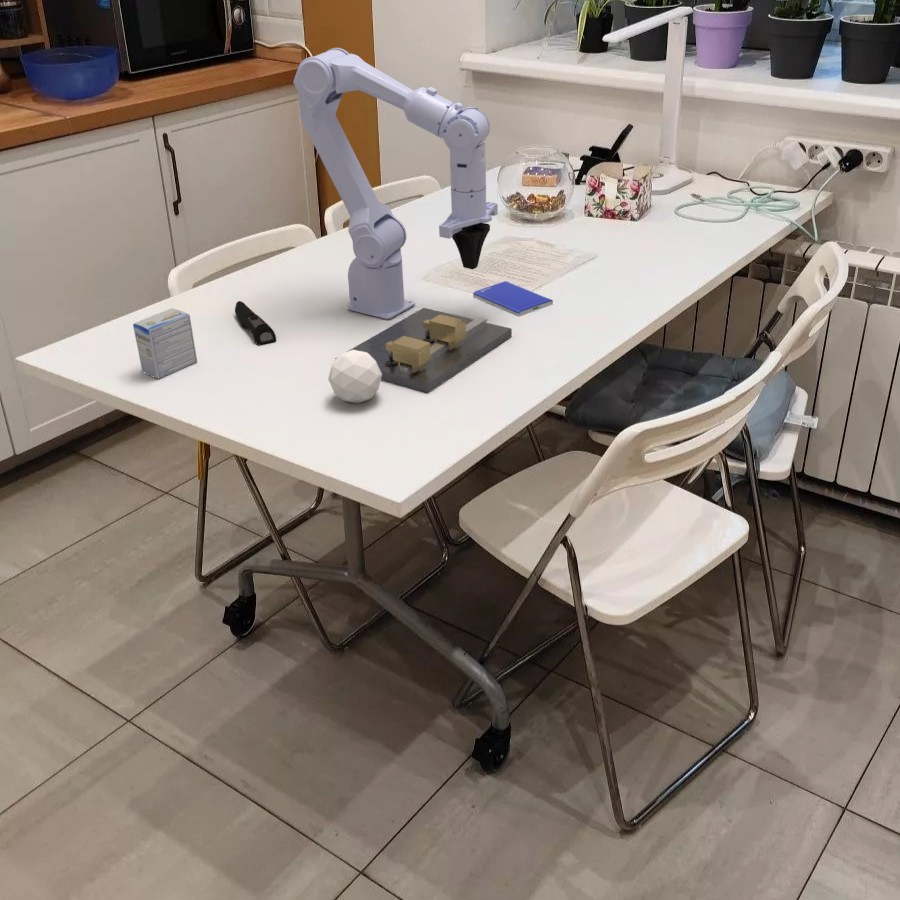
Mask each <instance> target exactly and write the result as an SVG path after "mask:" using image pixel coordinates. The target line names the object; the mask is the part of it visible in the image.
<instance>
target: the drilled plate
mask: <svg viewBox="0 0 900 900" xmlns="http://www.w3.org/2000/svg"><path fill="white" fill-rule="evenodd" d="M440 314H441V315H445V316H449V317H453V318H457V319H462V320H466V338H464V339H463V340H461V343H460V344H459V345H457V346H456V347H454V348H452V349H451V350H450V349H449V342H446V341H442V340H441V341H439V342H438V343H436V344H435V339H434V338H431V339H428V340H427V339H426V336H425V328H423V322H424V321H425V320H431V319H433V318H435V317H436V316H438V315H440ZM512 332H513V330H512V328H510V327H507V326H503V325H498V324H495V323H494V324H493V323H490V322H488V319H487V318H485V317H482V316H478V317H476V318H475V319H473V318H469V317H466V316H465V317H464V316H460V315H457V314H452V313H448V312H445V311H444V312H443V311H439V310H435V309H431V308H427V307H422V308H421V309H419V310H417V311H415V312H414V313H412V314H410V315H408V316H407V317H405V318H403V319H402V320H399V321H398V322H396V323H395V324H393V325H391V326H389V327H388V328H386V329H384V330H382V331H381V332H379V333H377V334H375V335H373V336H371V337H370V338H368V339H366V340H365V341H363V342H361V343H359V344H357V345H355V346H354V347H353V348H350V349H349V350H347V351H346V352H348V351H351V350H357V351H362V352H367V353H368V354H369V355H370V356H371V357H372V358H373V359H374V360H375V361H376V363H377V365H378V367H379V369H380V371H381V373H382V377H381V381H384V382H387V383H392V384H394V385H397V386H401V387H405V388H408V389H411V390H415V391H420V392H422V393H427V394H428V393H430V392H432V391H433V390H435V389H437V388H438V387H439V386H441V385H442V384H444V383H445V382H446V381H448V380H450V379H452V378H453V377H454V376H455V375H457V374H459V373H460V372H461V371H463V370H465V369H466V368H468V367H469V366H470V365H472V364H474V363H475V362H476V361H477V360H480V359H481V358H482V357H484V356H485V355H487V354H488V353H490V352H491V351H493V350H495V349H496V348H497V347H499V346H500V345H502V344H503V343H505V342H506V341H508V340H509V339H511V338H513V337H512V336H513V335H512V334H513V333H512ZM337 357H338V356H337ZM337 357H335V360H336V358H337ZM335 360H334V361H335Z"/></svg>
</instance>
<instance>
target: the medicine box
mask: <svg viewBox="0 0 900 900" xmlns="http://www.w3.org/2000/svg"><path fill="white" fill-rule="evenodd" d="M132 328H133V332H134V337H135V342H136V346H137V352H138V356H139V357H138V358H139V361H140V366H141V370H142V372H143V373H144V372H145V373H147V374H146V375H148V374H149V375H148V376H150V375H152V376H154V377H156V378H155V379H157V378H158V379H157V380H159V378H160V379H162V378H165V377H166V375H167V376H169V375H171V374H173V373H175V372H177V371H181V370H182V369H184V368H186V367H188V366H190V365H193V364H195V363H197V362H198V357H197V351H196V345H195V339H194V333H193V325H192V321H191V315H190V314H189V313H187V312H185V311H182V310H180V309H177V308H169V309H167V310H164V311H161V312H158V313H156V314H154V315H151V316H149V317H146V318H144V319H142V320H139V321H136V322H134V323H133V324H132ZM145 373H144V374H145ZM152 376H151V377H152ZM154 377H153V378H154ZM161 377H162V378H161Z"/></svg>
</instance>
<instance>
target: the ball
mask: <svg viewBox="0 0 900 900" xmlns="http://www.w3.org/2000/svg"><path fill="white" fill-rule="evenodd" d="M347 351H348V352H347ZM347 351H345V352H342V353H340V354H338V356H337V358H336V357H335V358H336V360H334V361H333V362H332V364H331V367H330V370H329V375H328V378H327V380H328V382H329V384H330V386H331V389H332V390H333V393H334V394H335V395H336V396H337V397H338V398H340V400H342V401H343V402H348V403H353V404H360V403H363V402H365V401H368V400H371V399H372V398H373V397H374V395H376V393H377V392H378V390H379V388H380V385H381V381H382V380H381V377H382V373H381V371H380V369H379V367H378V365H377V363H376V361H375V360H374V359H373V358H372V357H371V356H370V355H369V354H368V353H367V352H362V351H357V350H351V351H349V350H347Z"/></svg>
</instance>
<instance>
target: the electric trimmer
mask: <svg viewBox="0 0 900 900" xmlns="http://www.w3.org/2000/svg"><path fill="white" fill-rule="evenodd" d="M234 313H235V316H236V318H237V319H238V322H239V323H240V326H241V327H242V328H244V329H248V330H249V332H250V333H252V335H253V340H254V343H255V344H256V345H258V346H266V345H270V344H275V343H276V342H277V336H276V333H275V331H274V330H273V328H272V327H271V325H269V324H268V323H267V322H266V321H265V320H264V319H263V318H262V317H260V316H259V315H258V314H256V313H255V312H254V311H253V310H252V309H250V307H248V305H246V304H245V303H244V302H243V301H242V300H238V301H236V303H235V307H234Z"/></svg>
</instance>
